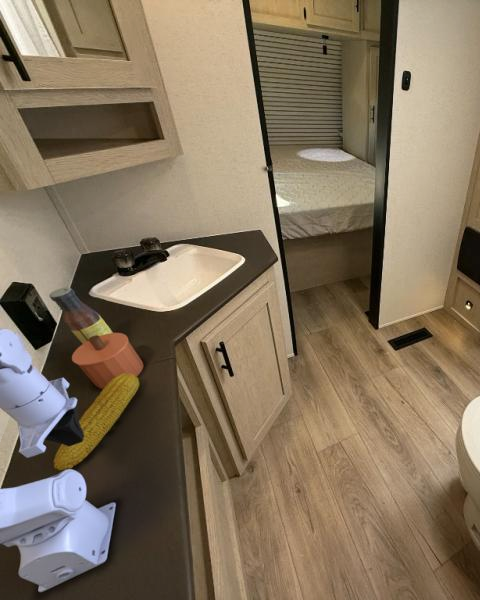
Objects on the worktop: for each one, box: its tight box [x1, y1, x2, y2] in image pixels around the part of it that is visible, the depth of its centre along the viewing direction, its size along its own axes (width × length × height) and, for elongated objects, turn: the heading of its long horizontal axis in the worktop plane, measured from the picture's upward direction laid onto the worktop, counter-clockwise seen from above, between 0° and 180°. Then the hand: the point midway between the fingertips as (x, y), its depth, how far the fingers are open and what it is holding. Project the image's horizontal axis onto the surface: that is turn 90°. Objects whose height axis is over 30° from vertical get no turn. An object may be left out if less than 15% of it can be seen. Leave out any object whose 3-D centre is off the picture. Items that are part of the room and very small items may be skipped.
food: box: [53, 373, 140, 471], centre depth 66 cm, size 21×6×6 cm, turn 5°
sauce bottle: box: [49, 286, 114, 345], centre depth 80 cm, size 6×6×20 cm
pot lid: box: [71, 332, 130, 366], centre depth 74 cm, size 10×10×4 cm
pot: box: [77, 341, 144, 390], centre depth 77 cm, size 10×10×8 cm
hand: (76, 441), depth 57 cm, fingers closed
